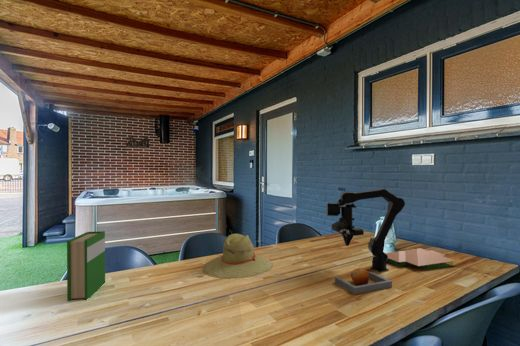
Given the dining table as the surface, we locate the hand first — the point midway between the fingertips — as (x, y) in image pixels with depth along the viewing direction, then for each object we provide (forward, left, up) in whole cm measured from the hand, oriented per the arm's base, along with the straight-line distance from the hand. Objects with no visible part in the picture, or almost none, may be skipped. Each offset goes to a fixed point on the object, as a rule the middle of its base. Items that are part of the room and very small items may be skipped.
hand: (347, 245), depth 149 cm
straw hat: (+51, -26, -13) cm, 59 cm away
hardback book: (+122, -18, -12) cm, 124 cm away
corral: (+8, +20, -12) cm, 24 cm away
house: (-43, +7, -13) cm, 45 cm away
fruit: (+8, +19, -12) cm, 24 cm away
